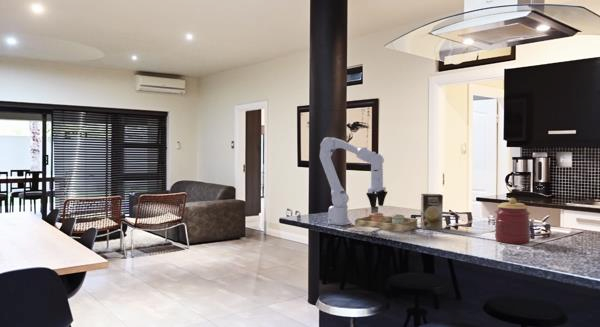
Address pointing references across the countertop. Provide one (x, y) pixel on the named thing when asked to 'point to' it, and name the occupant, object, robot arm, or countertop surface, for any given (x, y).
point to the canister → (512, 223)
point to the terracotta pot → (376, 217)
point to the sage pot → (397, 219)
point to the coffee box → (431, 211)
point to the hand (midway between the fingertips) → (377, 206)
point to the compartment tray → (387, 223)
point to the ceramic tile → (363, 229)
